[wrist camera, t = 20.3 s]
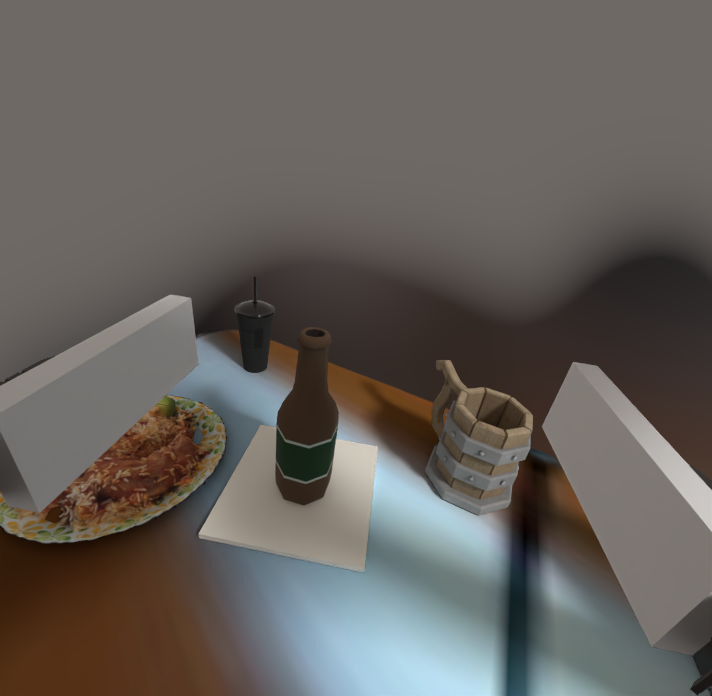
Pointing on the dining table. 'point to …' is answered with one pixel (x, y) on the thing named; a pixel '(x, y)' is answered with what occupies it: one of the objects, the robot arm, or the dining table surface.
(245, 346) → the drinking cup
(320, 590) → the dining table surface
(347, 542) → the square board
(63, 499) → the rice dish
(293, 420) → the beer bottle
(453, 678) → the dining table surface
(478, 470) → the tankard
